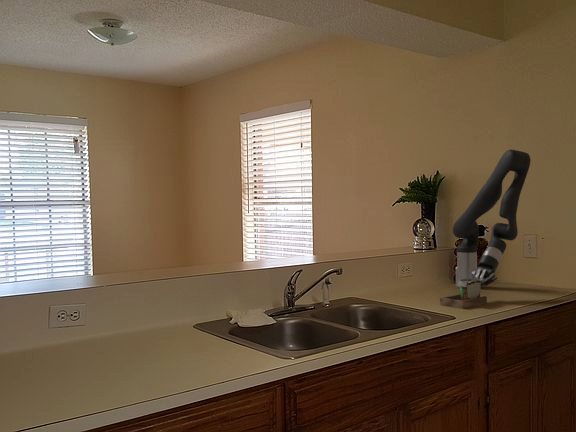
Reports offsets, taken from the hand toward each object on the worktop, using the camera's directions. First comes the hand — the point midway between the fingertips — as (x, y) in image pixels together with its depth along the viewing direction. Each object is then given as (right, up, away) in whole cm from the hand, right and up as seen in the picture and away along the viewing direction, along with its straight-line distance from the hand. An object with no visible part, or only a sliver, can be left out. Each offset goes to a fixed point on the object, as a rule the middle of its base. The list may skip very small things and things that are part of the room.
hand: (474, 291), depth 223 cm
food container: (-4, -5, -3) cm, 7 cm away
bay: (-5, -5, -3) cm, 8 cm away
